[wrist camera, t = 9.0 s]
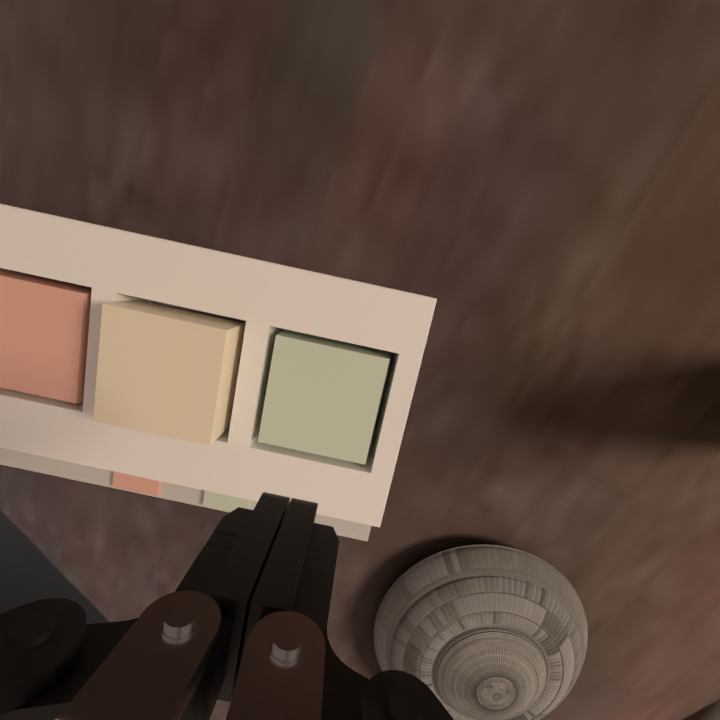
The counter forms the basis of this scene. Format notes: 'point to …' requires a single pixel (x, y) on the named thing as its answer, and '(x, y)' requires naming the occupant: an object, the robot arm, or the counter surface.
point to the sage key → (323, 396)
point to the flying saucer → (485, 632)
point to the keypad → (263, 322)
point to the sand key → (167, 370)
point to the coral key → (43, 335)
